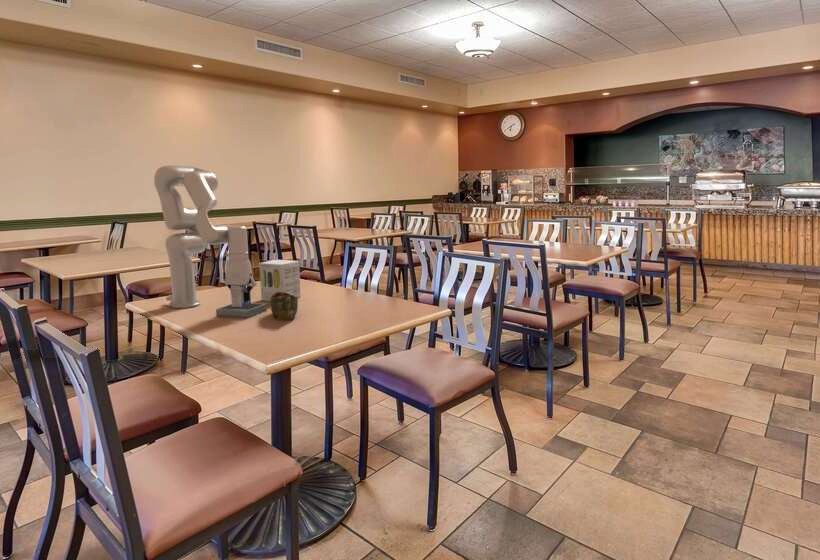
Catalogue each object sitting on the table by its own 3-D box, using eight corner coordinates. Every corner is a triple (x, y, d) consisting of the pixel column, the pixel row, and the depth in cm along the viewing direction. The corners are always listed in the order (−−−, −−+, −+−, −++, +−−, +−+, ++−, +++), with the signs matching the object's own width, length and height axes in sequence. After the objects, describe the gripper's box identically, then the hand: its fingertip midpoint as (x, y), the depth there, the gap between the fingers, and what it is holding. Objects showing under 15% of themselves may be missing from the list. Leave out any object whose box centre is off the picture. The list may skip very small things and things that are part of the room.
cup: (259, 322, 200) (258, 296, 198) (275, 311, 219) (274, 287, 218) (292, 323, 199) (291, 297, 197) (305, 312, 219) (305, 288, 217)
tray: (216, 316, 210) (216, 309, 209) (237, 308, 223) (237, 301, 222) (246, 318, 206) (246, 311, 205) (266, 311, 219) (265, 304, 218)
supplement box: (260, 300, 240) (258, 262, 237) (278, 295, 252) (276, 259, 249) (284, 302, 235) (282, 264, 232) (301, 297, 247) (299, 260, 244)
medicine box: (241, 307, 210) (240, 286, 208) (231, 307, 210) (230, 285, 209) (251, 303, 217) (250, 282, 216) (241, 302, 218) (240, 282, 217)
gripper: (214, 257, 209) (217, 301, 212) (251, 258, 204) (254, 304, 208) (226, 255, 216) (229, 298, 219) (262, 256, 212) (264, 300, 215)
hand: (241, 300), depth 213 cm, fingers closed on medicine box, 4 cm apart
